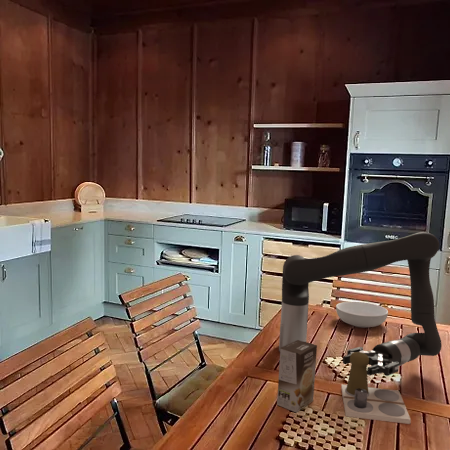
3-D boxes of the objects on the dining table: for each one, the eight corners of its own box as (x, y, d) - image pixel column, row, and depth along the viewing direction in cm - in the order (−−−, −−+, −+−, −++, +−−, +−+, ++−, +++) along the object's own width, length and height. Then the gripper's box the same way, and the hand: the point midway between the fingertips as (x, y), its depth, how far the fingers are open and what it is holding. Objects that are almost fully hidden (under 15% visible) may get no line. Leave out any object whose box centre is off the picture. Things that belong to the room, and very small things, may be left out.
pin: (354, 407, 125) (355, 393, 124) (353, 401, 128) (354, 387, 127) (367, 409, 124) (368, 394, 123) (365, 403, 127) (366, 389, 127)
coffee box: (296, 413, 123) (300, 354, 121) (276, 405, 127) (279, 347, 125) (314, 400, 130) (317, 344, 128) (294, 393, 134) (297, 338, 132)
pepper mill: (369, 397, 130) (372, 358, 129) (346, 394, 132) (349, 356, 130) (367, 387, 136) (369, 350, 135) (345, 384, 138) (348, 348, 136)
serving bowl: (392, 322, 200) (393, 306, 200) (379, 336, 183) (380, 319, 182) (344, 313, 211) (345, 298, 210) (327, 325, 194) (328, 309, 193)
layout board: (345, 416, 123) (345, 411, 123) (341, 388, 138) (341, 383, 138) (410, 424, 120) (410, 418, 120) (398, 394, 136) (398, 389, 136)
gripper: (372, 334, 146) (336, 344, 137) (413, 350, 135) (377, 362, 126) (370, 358, 147) (335, 369, 138) (411, 375, 136) (375, 389, 127)
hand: (355, 366), depth 132 cm, fingers open, 8 cm apart
